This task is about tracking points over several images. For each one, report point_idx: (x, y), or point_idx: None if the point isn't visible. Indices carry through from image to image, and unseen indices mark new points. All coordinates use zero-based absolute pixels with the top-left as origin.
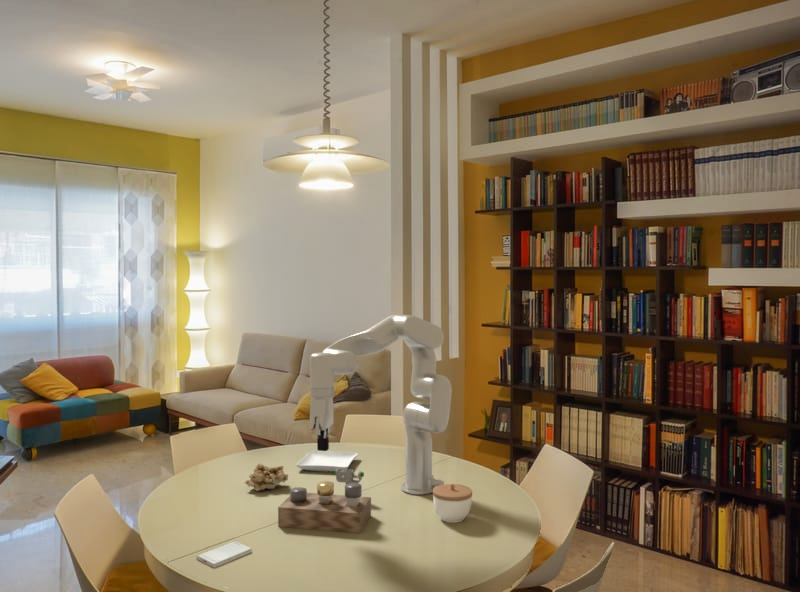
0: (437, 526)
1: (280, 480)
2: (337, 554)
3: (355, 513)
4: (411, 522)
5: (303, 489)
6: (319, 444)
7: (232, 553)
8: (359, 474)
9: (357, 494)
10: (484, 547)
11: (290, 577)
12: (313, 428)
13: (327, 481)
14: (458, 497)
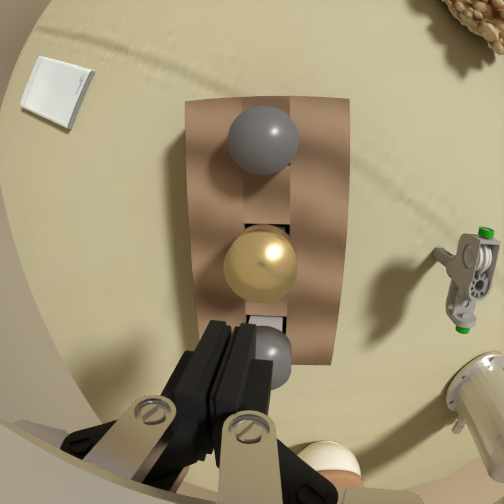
0: (283, 439)
1: (479, 34)
2: (109, 302)
3: None
4: (296, 408)
5: (274, 158)
6: (175, 371)
7: (46, 108)
8: (457, 323)
9: None
10: (218, 472)
11: (29, 246)
12: (65, 453)
13: (294, 269)
14: None
